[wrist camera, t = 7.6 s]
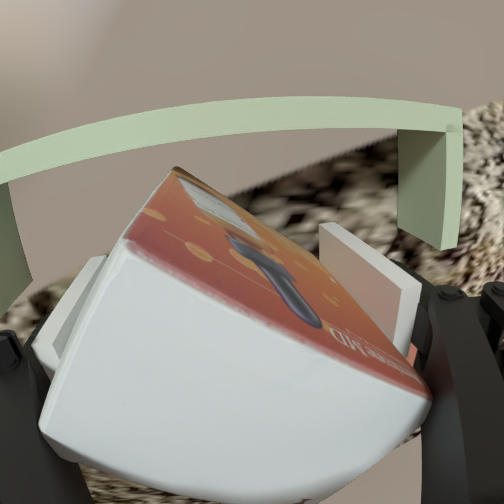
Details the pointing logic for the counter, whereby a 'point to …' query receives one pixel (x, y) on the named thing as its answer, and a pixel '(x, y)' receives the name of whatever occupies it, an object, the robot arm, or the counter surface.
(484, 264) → the counter surface
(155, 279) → the small box
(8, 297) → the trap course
